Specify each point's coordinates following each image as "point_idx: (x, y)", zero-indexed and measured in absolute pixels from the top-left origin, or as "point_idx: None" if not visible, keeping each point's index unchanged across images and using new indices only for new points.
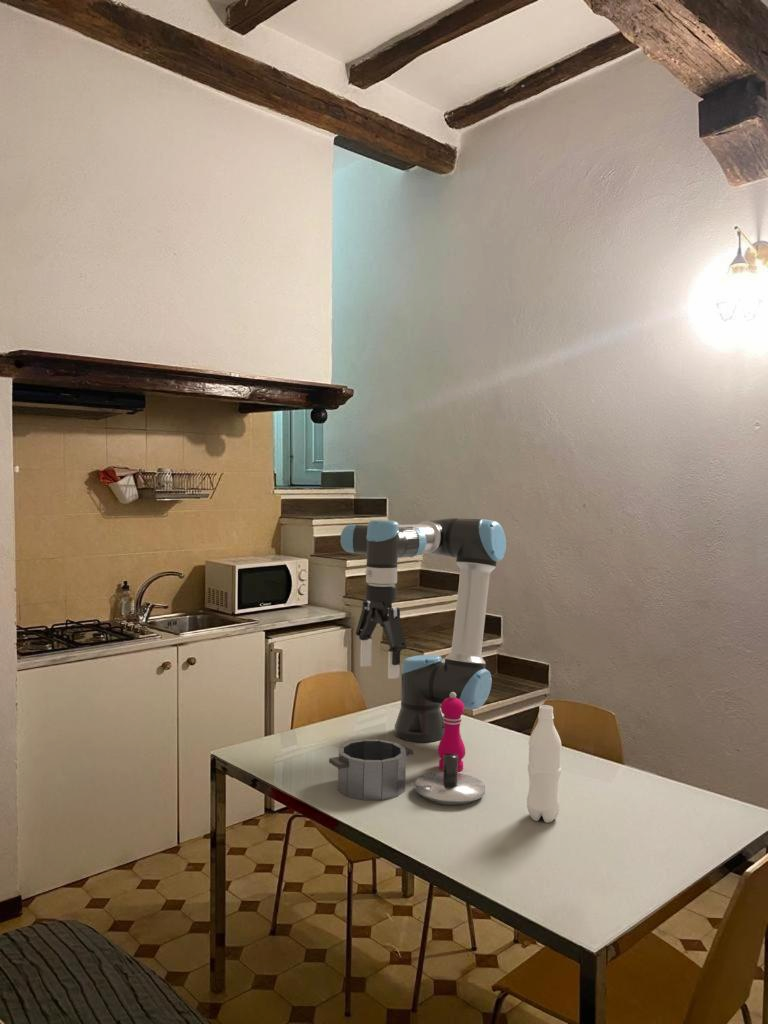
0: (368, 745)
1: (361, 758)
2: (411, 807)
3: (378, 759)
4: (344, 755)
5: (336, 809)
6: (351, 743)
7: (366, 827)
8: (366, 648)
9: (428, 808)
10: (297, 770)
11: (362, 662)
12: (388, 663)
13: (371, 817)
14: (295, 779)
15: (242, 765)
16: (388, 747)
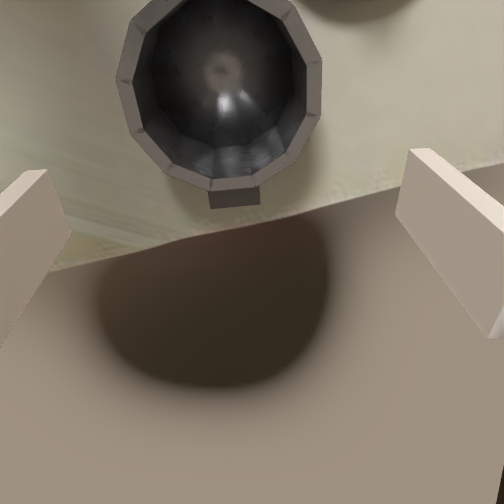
0: (138, 65)
1: (143, 80)
2: (371, 44)
3: (155, 27)
4: (232, 185)
5: (297, 193)
6: (143, 129)
7: (391, 176)
8: (3, 282)
9: (399, 5)
10: (77, 190)
11: (60, 244)
12: (438, 267)
13: (362, 150)
14: (129, 209)
15: None
16: (175, 7)
